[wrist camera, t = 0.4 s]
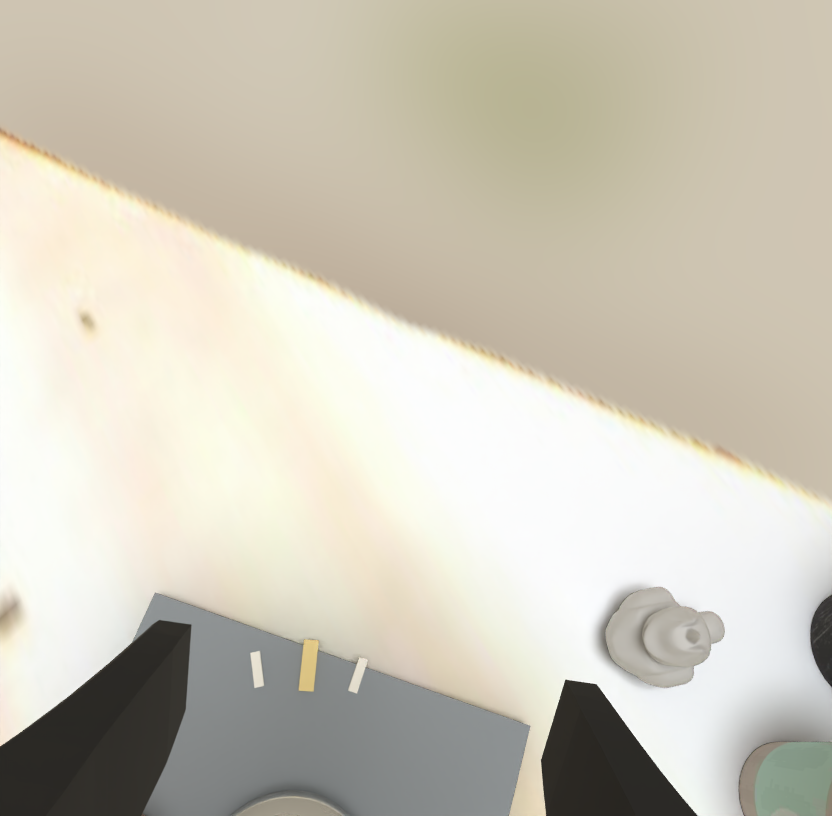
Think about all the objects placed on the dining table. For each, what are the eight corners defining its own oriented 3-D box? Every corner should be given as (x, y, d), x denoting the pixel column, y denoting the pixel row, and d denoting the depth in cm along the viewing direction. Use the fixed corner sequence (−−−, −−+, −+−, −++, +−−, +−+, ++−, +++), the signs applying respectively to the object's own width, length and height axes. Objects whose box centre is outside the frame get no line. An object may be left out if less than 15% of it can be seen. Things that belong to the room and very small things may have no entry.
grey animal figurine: (583, 600, 42) (642, 589, 34) (679, 582, 43) (757, 568, 36) (606, 694, 40) (674, 704, 33) (706, 672, 41) (793, 677, 34)
